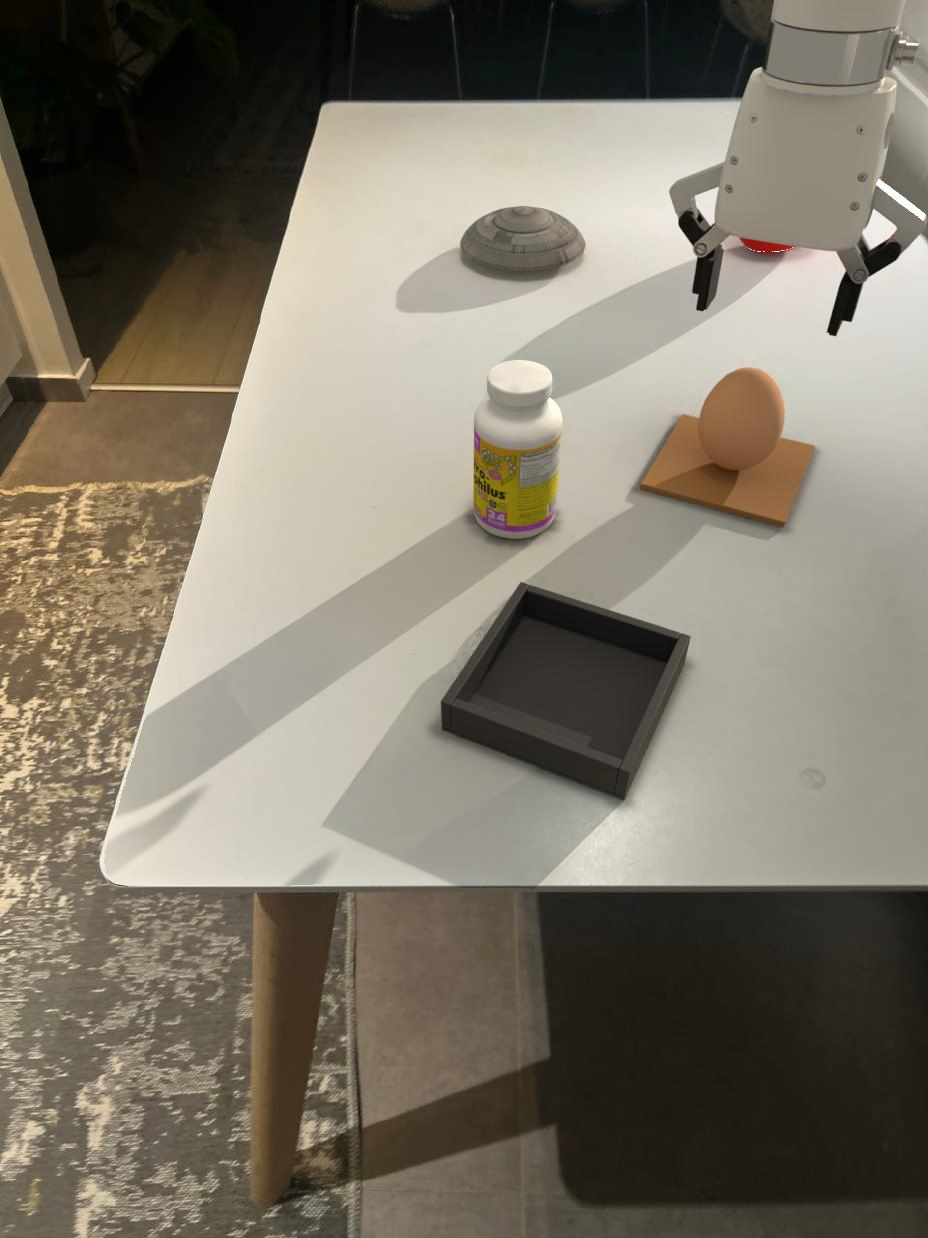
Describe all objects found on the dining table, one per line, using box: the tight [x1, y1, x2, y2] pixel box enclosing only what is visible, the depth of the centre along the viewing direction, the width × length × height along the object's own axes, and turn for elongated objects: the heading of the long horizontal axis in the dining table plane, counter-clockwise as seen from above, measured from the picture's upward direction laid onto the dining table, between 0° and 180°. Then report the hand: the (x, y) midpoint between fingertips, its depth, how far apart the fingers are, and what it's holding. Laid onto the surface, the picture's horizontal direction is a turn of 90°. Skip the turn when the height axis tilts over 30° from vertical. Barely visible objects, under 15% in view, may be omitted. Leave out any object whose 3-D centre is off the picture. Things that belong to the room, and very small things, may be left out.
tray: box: [440, 581, 692, 801], centre depth 60 cm, size 12×12×3 cm
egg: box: [698, 366, 786, 471], centre depth 76 cm, size 7×7×9 cm
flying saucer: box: [459, 205, 586, 273], centre depth 109 cm, size 15×15×6 cm
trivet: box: [640, 413, 816, 528], centre depth 79 cm, size 12×12×1 cm
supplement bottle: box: [473, 359, 564, 540], centre depth 70 cm, size 7×7×13 cm
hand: (768, 315), depth 69 cm, fingers open, 9 cm apart
